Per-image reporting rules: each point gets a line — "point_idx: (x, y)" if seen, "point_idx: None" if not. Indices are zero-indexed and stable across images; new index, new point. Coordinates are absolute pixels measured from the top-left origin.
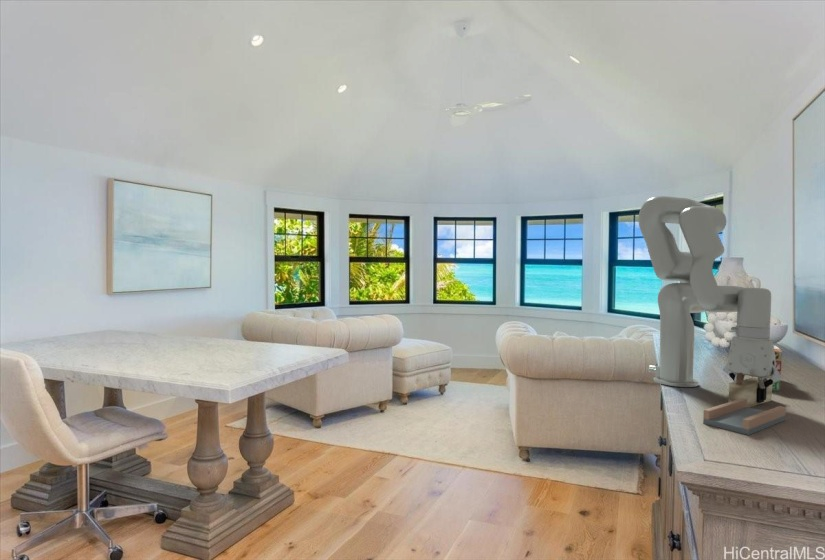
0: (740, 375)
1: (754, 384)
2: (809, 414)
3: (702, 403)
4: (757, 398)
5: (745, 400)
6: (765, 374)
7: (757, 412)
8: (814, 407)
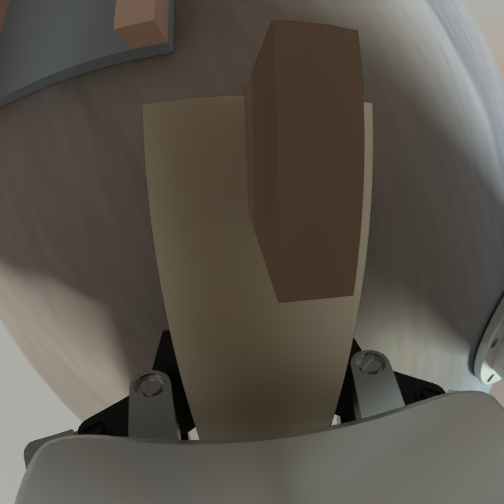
0: (266, 138)
1: (174, 349)
2: (21, 325)
3: (387, 30)
4: None
5: (118, 4)
6: (44, 457)
7: (57, 9)
8: None
